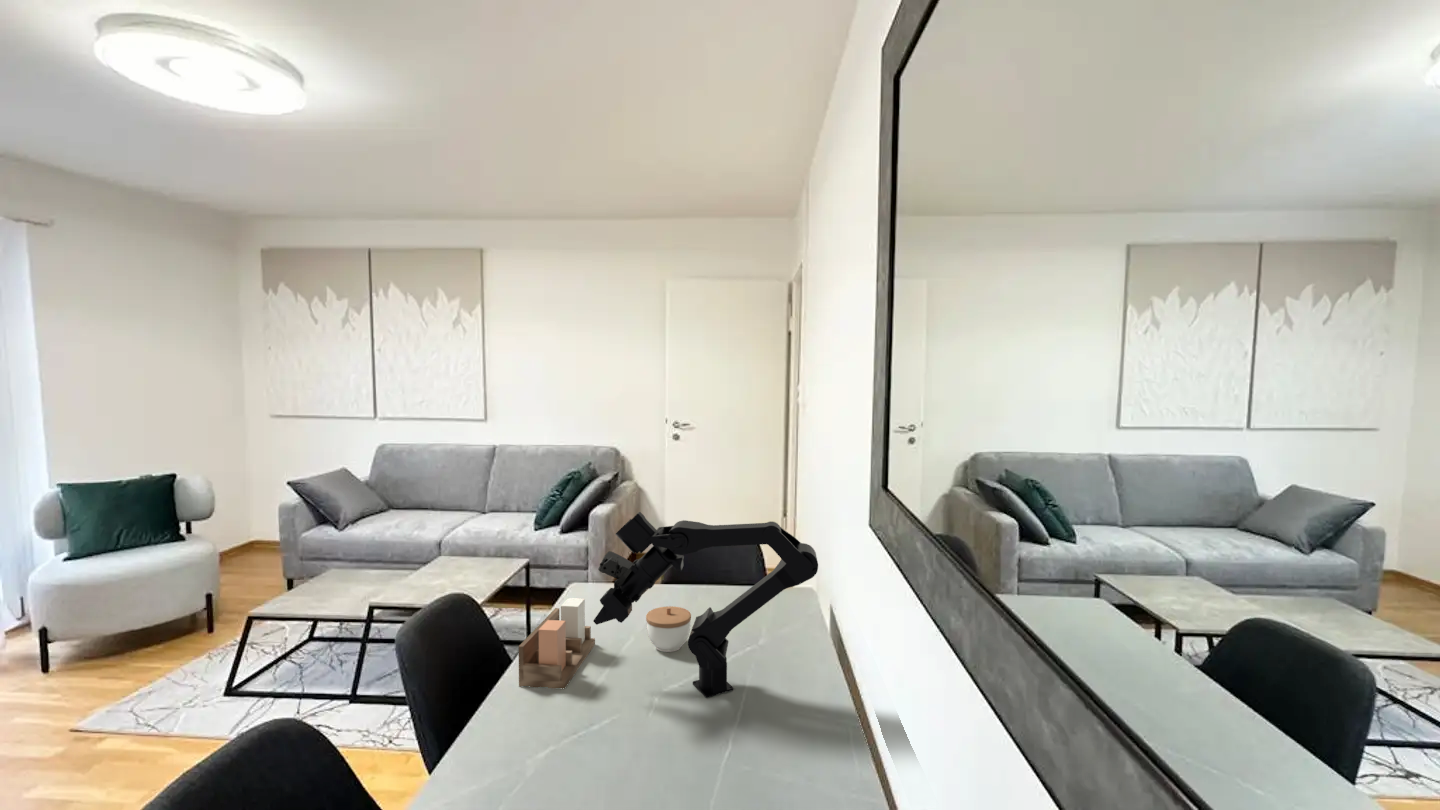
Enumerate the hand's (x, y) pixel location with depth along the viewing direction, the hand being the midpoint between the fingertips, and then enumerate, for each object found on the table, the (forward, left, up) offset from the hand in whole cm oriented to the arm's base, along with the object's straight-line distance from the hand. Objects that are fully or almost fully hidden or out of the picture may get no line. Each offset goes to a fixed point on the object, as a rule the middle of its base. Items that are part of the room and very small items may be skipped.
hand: (598, 618), depth 127 cm
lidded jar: (+8, -20, -14) cm, 26 cm away
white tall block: (+16, +1, -12) cm, 20 cm away
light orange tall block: (+6, +8, -12) cm, 16 cm away
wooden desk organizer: (+12, +5, -14) cm, 19 cm away
